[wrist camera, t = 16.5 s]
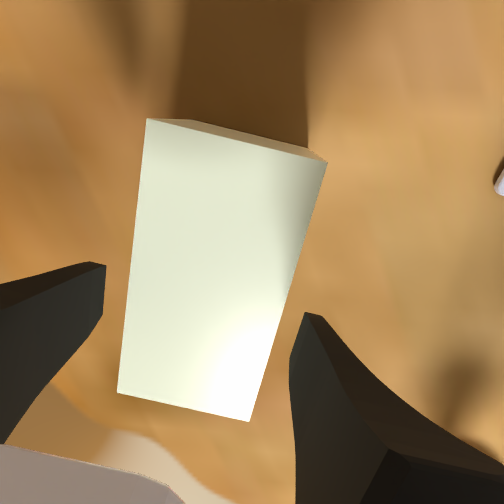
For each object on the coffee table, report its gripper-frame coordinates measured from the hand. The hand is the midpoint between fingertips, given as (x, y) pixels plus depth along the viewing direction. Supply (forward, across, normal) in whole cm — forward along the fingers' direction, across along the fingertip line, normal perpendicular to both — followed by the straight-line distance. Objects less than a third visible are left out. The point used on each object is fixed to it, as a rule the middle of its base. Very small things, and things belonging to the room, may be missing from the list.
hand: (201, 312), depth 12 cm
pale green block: (+8, 0, 0) cm, 8 cm away
